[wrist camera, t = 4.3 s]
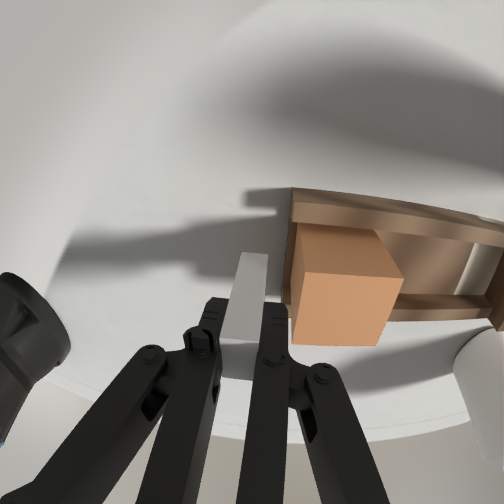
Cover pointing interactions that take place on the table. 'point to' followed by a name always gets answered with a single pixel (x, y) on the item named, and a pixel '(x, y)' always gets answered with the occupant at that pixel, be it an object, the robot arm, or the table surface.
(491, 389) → the white bottle
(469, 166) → the table surface
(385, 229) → the chute
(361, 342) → the block
